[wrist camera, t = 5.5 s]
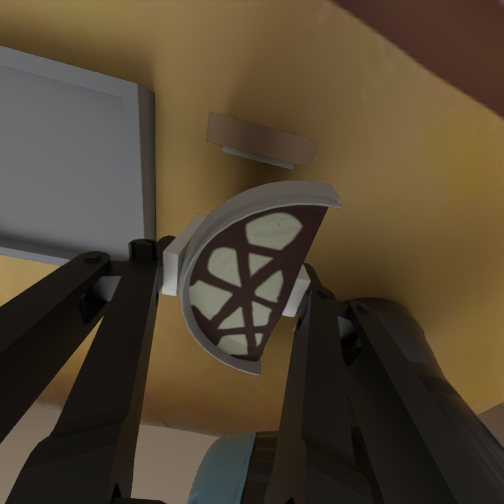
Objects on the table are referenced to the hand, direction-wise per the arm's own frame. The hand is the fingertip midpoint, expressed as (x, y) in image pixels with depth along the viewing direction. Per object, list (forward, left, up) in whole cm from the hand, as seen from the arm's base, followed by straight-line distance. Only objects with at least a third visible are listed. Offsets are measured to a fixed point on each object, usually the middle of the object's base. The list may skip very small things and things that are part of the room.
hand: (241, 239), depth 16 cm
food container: (0, 0, -3) cm, 3 cm away
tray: (+18, 0, -5) cm, 19 cm away
